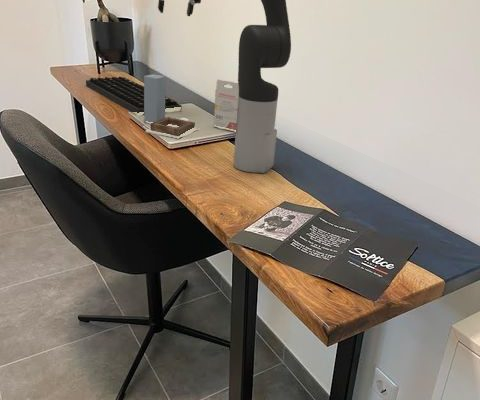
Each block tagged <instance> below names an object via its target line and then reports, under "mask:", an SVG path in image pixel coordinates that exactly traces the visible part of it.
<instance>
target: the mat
mask: <svg viewBox="0 0 480 400" xmlns="http://www.w3.org/2000/svg"><path fill="white" fill-rule="evenodd" d="M144 132H145V133H148V134H152V135H157V136H160V135H165V134H163V133H161V132H156V131H152V130H151V128H149V129H146V130H145V131H144ZM158 134H159V135H158ZM166 136H170V137H173V138H172V139H174V138H177V139H176V140H180V139H179V138H180V137H179V136H174V135H167V134H166Z"/></svg>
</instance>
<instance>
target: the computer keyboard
mask: <svg viewBox="0 0 480 400" xmlns="http://www.w3.org/2000/svg"><path fill="white" fill-rule="evenodd" d="M85 86H86V87H87V88H89V89H90V90H92V91H94V92H96V93H97V94H99V95H101V96H103V97H105V98H106V99H107V100H110V101H111V102H113V103H114V104H117V105H118V106H120V107H122V108H123V109H125V110H127V111H128V112H131V113H132V112H137V113H139V112H144V85H142V84H139V83H137V82H135V81H133V80H131V79H129V78H126V77H124V76H118V77H116V76H112V77H109V76H108V77H106V76H105V77H97V78H96V77H90V79H88V80H85ZM174 107H181V108H182V104H179V103H178V102H177V101H175V100H174V99H172V98H169V97H167V96H165V109H166V108H174Z"/></svg>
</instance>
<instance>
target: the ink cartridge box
mask: <svg viewBox="0 0 480 400" xmlns="http://www.w3.org/2000/svg"><path fill="white" fill-rule="evenodd" d="M227 86H231V87H227ZM214 95H215V96H214V97H215V98H214V115H213V126H214V125H216V126H220V127H225V128H229V129H233V130H236V123H237V110H238V97H239V85H238V82H234V81H229V80H223V79H217V80H216V88H215V94H214Z"/></svg>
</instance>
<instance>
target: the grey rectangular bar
mask: <svg viewBox="0 0 480 400" xmlns="http://www.w3.org/2000/svg"><path fill="white" fill-rule="evenodd" d="M143 86H144V115H143V116H144V117H143V118H144V121H148V122H156V121H159V120H161V119H164V118H166V113H165V97H166V76H165V75H160V74H154V73H153V74H147V75H144V76H143ZM144 121H143V122H144Z"/></svg>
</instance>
